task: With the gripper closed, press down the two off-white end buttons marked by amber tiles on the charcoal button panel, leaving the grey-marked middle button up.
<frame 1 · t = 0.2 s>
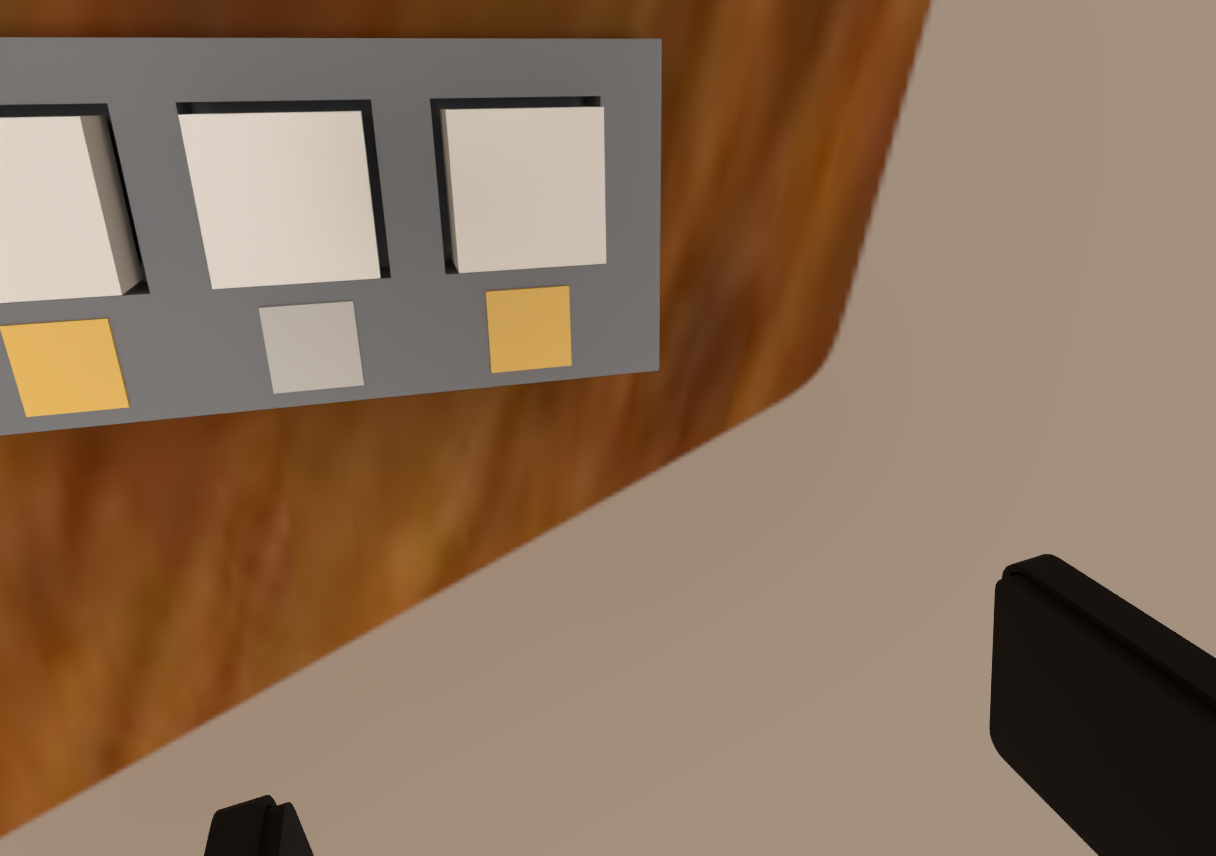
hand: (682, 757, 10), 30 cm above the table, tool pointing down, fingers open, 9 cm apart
end button 1: (523, 187, 33), point 3 cm above the table, slide at 0.0 cm
button panel: (301, 225, 35), on the table
end button 2: (19, 208, 29), point 3 cm above the table, slide at 0.0 cm
middle button: (289, 197, 31), point 4 cm above the table, slide at 0.0 cm
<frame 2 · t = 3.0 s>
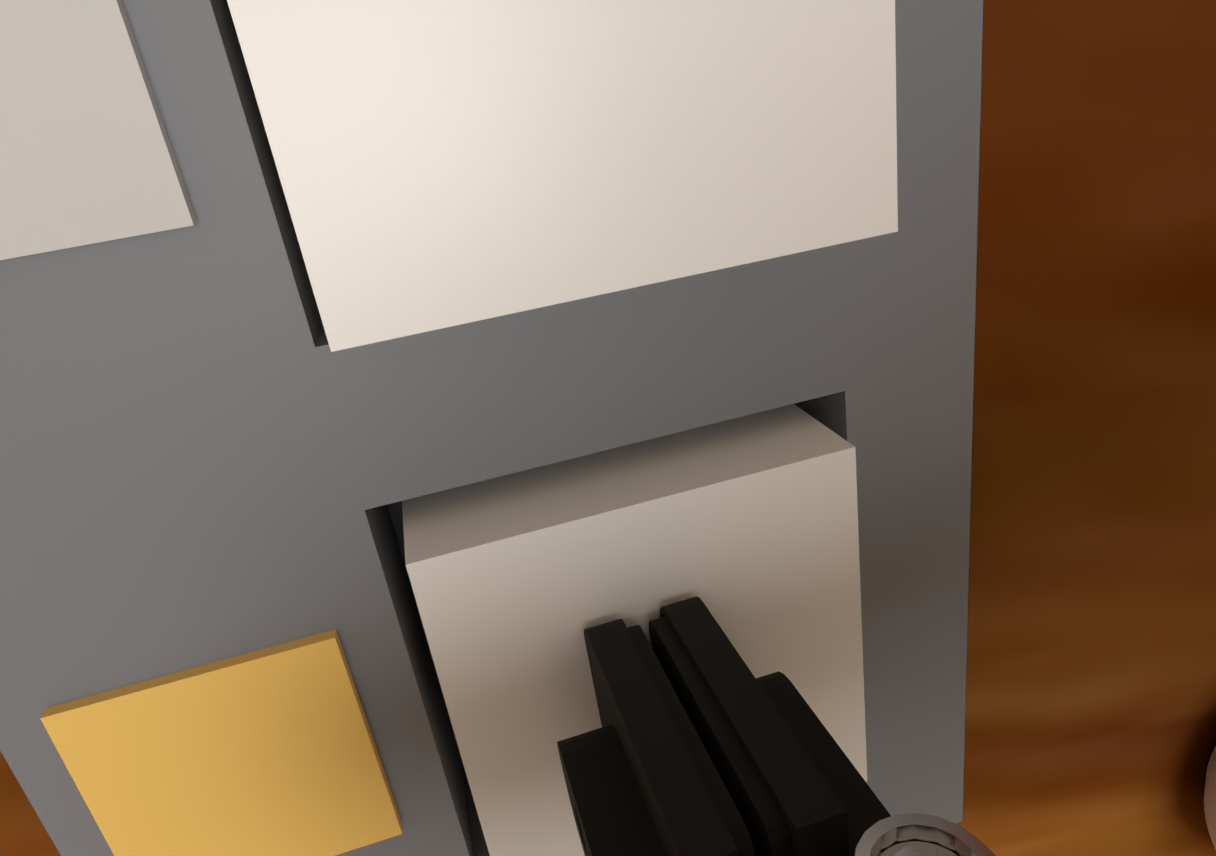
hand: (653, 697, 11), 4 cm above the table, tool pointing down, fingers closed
end button 1: (639, 628, 13), point 2 cm above the table, slide at 1.1 cm, touching gripper
button panel: (399, 30, 11), on the table
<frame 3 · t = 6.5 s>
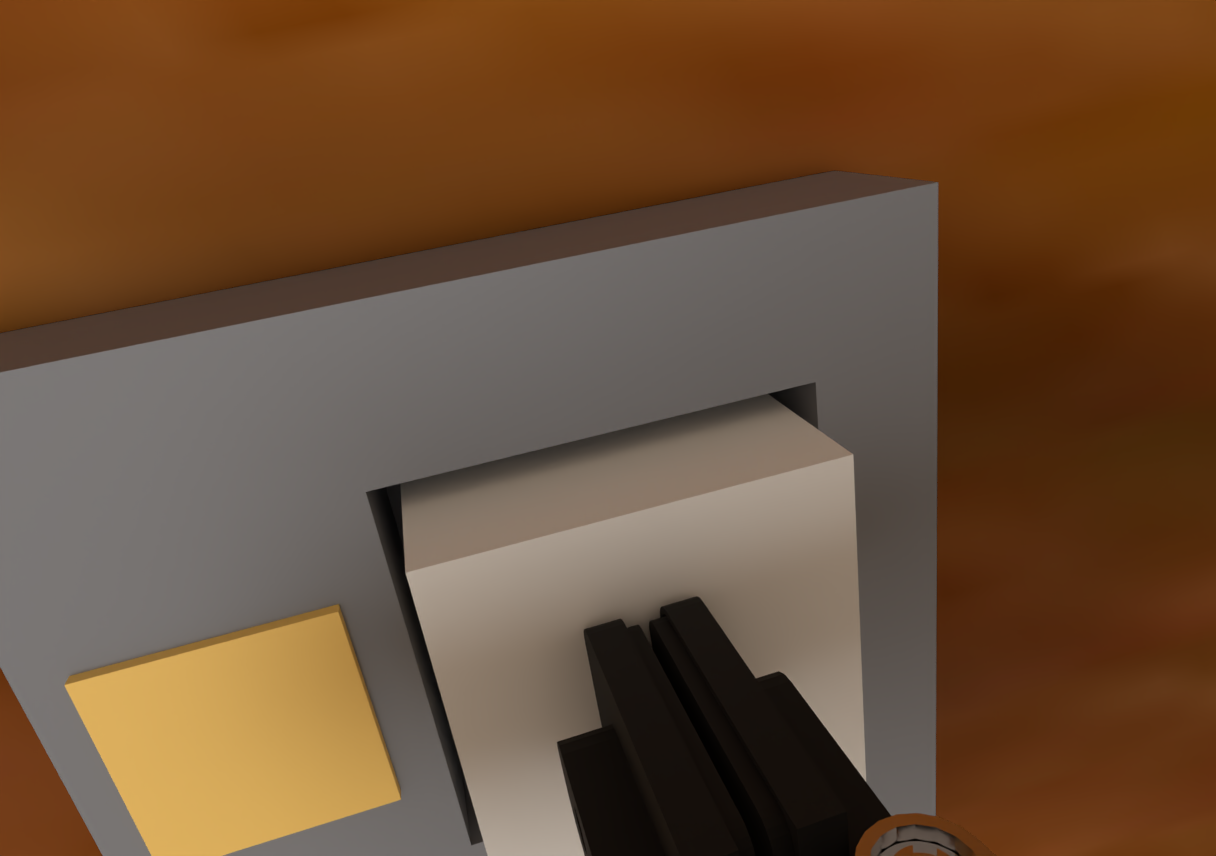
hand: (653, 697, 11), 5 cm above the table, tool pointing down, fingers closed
end button 2: (639, 635, 13), point 3 cm above the table, slide at 0.2 cm, touching gripper
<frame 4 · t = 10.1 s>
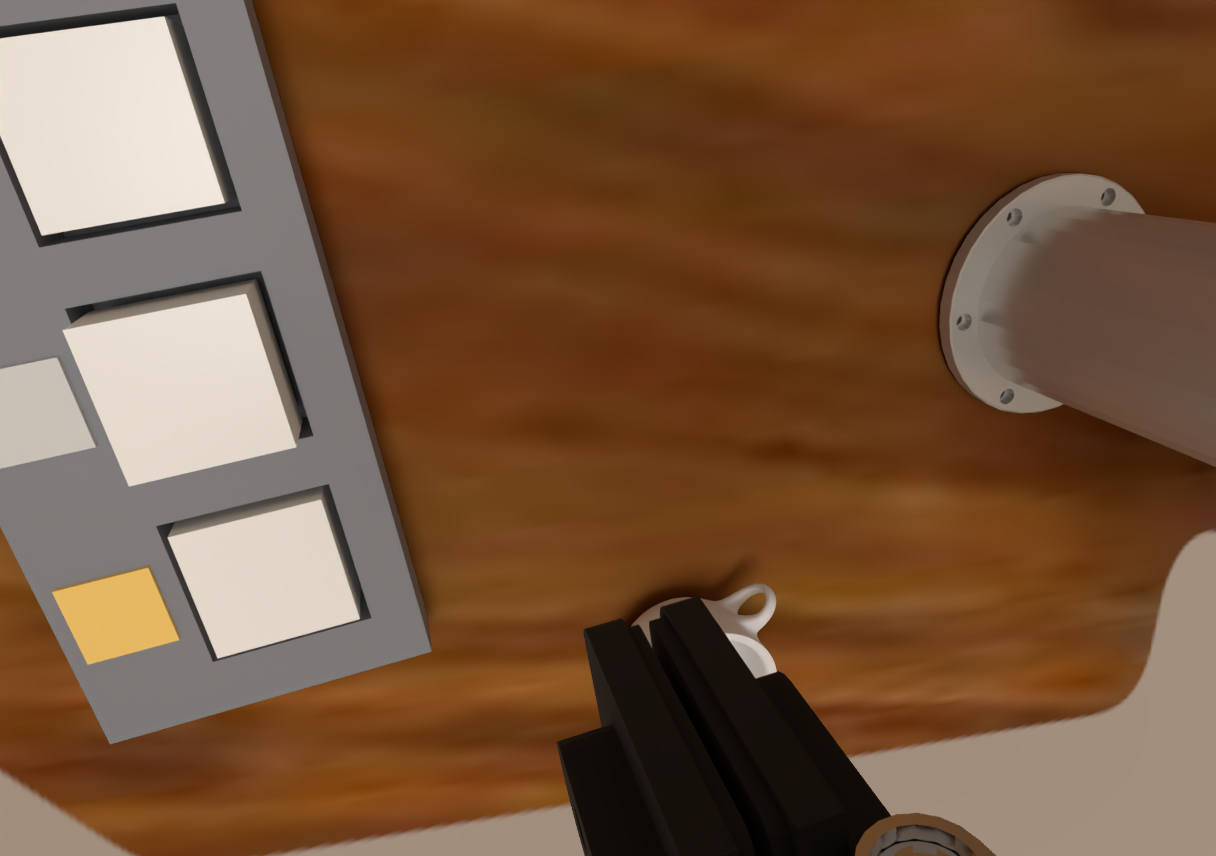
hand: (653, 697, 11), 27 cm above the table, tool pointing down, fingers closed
end button 1: (272, 562, 36), point 2 cm above the table, slide at 1.5 cm
button panel: (172, 363, 34), on the table
end button 2: (114, 127, 29), point 2 cm above the table, slide at 1.5 cm
middle button: (194, 380, 31), point 4 cm above the table, slide at 0.0 cm
teacup: (682, 622, 45), on the table
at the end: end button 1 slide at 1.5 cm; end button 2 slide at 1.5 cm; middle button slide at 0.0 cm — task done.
